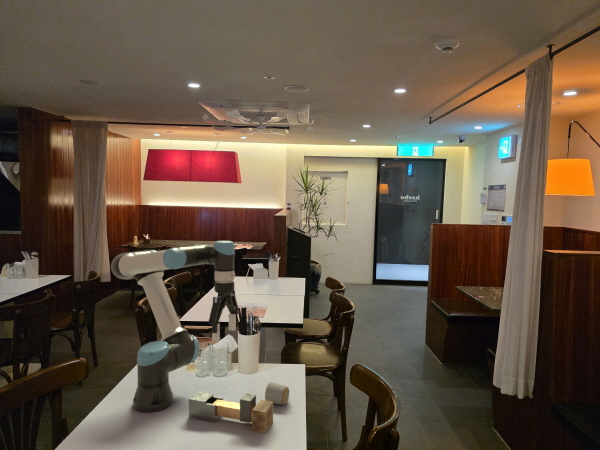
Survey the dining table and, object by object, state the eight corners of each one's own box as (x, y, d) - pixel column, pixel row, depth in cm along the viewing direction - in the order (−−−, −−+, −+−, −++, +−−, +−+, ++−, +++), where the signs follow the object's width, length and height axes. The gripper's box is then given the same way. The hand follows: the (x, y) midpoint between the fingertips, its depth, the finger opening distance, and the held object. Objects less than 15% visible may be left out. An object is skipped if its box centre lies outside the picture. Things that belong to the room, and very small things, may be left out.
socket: (252, 431, 147) (252, 410, 146) (260, 419, 154) (261, 399, 154) (264, 433, 145) (265, 412, 145) (272, 422, 153) (273, 401, 153)
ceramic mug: (283, 408, 163) (283, 389, 163) (264, 405, 166) (264, 386, 165) (292, 397, 173) (293, 379, 173) (274, 393, 176) (274, 376, 175)
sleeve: (188, 417, 155) (188, 398, 155) (197, 409, 161) (197, 391, 161) (214, 422, 152) (214, 403, 152) (222, 414, 158) (222, 395, 158)
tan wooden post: (211, 415, 153) (211, 394, 152) (218, 409, 158) (218, 388, 157) (261, 425, 147) (261, 403, 147) (267, 417, 152) (267, 396, 152)
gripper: (217, 288, 147) (217, 347, 148) (246, 276, 171) (246, 327, 172) (198, 286, 149) (198, 344, 151) (230, 275, 173) (230, 325, 174)
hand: (224, 335), depth 161 cm, fingers open, 13 cm apart
